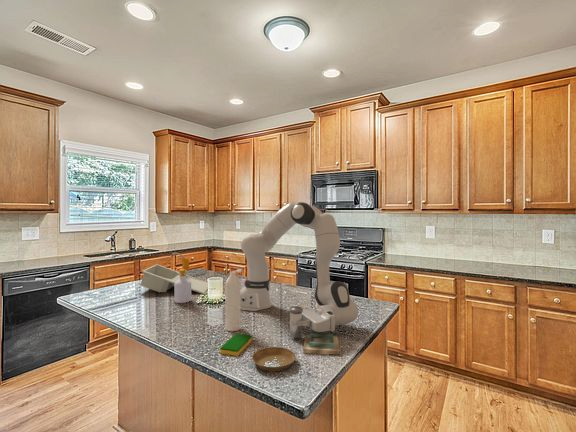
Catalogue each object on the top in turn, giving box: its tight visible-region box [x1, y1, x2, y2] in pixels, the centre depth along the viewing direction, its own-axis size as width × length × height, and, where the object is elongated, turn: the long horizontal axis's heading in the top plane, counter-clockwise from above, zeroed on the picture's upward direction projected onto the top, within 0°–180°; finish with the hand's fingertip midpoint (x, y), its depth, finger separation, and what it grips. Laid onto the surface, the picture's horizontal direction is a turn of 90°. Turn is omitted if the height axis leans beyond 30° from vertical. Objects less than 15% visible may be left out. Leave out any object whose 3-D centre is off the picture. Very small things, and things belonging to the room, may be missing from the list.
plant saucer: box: [251, 346, 297, 372], centre depth 106 cm, size 15×15×3 cm
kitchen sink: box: [140, 251, 208, 295], centre depth 202 cm, size 24×40×25 cm, turn 93°
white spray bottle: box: [224, 268, 243, 332], centre depth 137 cm, size 9×6×25 cm
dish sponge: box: [219, 333, 253, 357], centre depth 119 cm, size 7×14×2 cm, turn 164°
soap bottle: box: [173, 257, 192, 304], centre depth 176 cm, size 9×9×25 cm
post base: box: [302, 332, 341, 355], centre depth 119 cm, size 13×13×3 cm
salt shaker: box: [289, 305, 303, 339], centre depth 126 cm, size 5×5×11 cm
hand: (293, 320), depth 126 cm, fingers closed on salt shaker, 5 cm apart
